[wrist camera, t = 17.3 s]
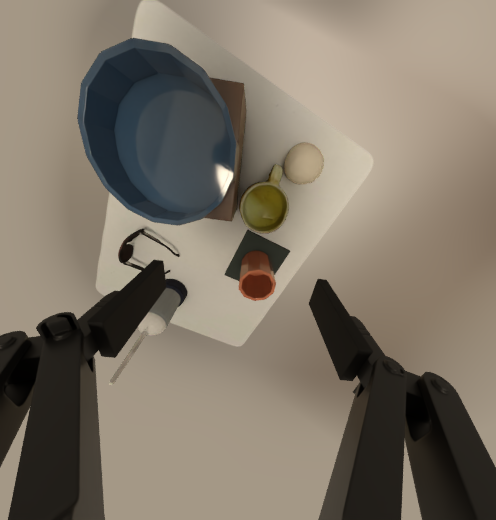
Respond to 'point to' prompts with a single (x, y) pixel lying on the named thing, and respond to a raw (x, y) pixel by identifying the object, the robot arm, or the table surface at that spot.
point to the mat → (256, 244)
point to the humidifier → (157, 317)
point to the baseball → (303, 163)
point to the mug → (265, 204)
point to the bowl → (157, 132)
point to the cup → (256, 276)
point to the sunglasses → (127, 249)
